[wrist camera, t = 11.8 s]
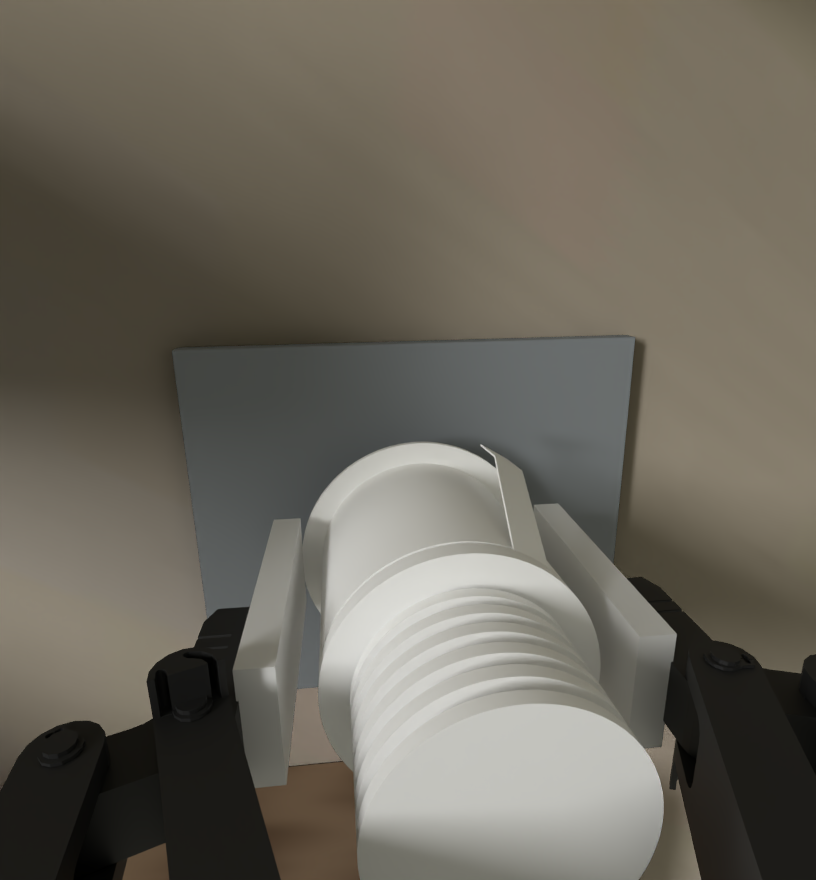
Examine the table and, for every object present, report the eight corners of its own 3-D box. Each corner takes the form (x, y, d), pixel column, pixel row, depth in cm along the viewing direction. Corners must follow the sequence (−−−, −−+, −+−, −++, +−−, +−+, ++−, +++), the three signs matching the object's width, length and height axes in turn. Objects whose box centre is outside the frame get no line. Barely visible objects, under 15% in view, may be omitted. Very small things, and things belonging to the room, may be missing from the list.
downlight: (445, 690, 19) (557, 1077, 10) (254, 607, 18) (165, 975, 8) (575, 490, 18) (847, 710, 9) (382, 382, 17) (454, 505, 7)
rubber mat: (220, 683, 21) (217, 695, 20) (177, 347, 17) (171, 350, 17) (597, 652, 22) (603, 662, 22) (626, 335, 19) (635, 337, 18)
